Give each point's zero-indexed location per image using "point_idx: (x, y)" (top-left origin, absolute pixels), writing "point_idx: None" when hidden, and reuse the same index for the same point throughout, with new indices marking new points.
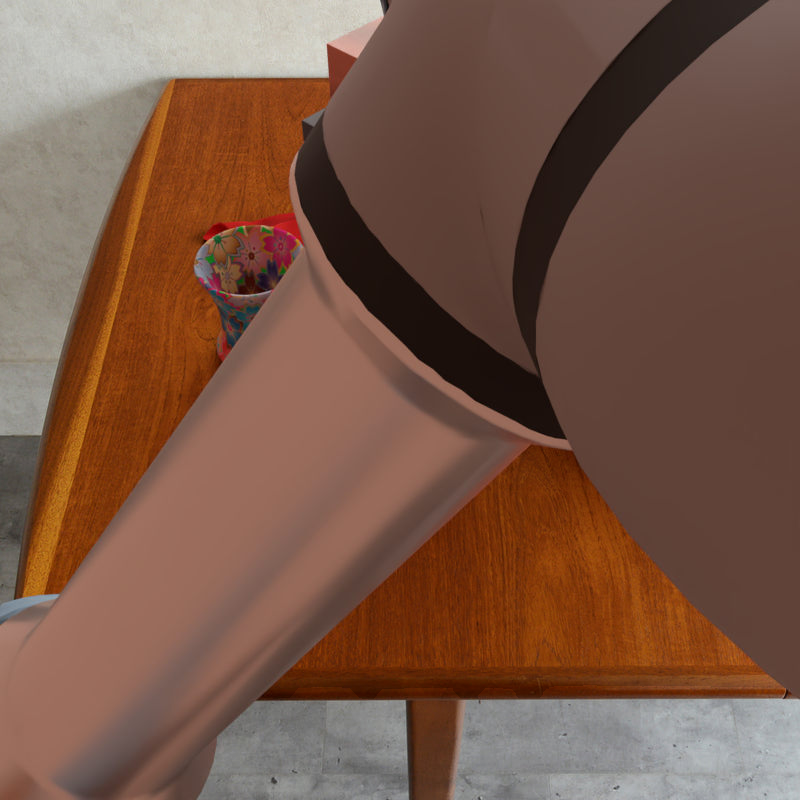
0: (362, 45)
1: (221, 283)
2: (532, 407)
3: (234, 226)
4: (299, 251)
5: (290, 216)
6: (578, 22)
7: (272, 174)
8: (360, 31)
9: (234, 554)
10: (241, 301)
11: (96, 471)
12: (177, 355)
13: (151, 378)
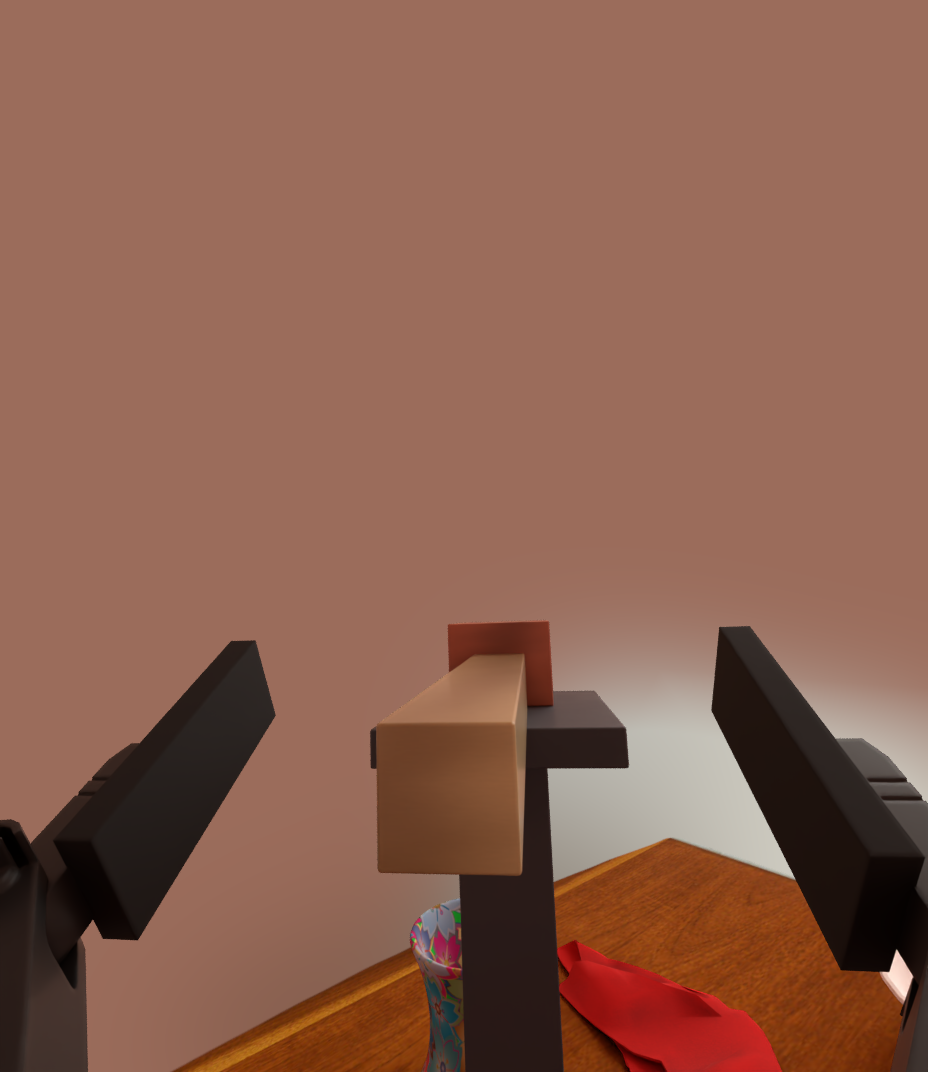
0: (479, 622)
1: (460, 956)
2: None
3: (586, 952)
4: None
5: (650, 976)
6: None
7: (679, 935)
8: (501, 621)
9: None
10: (419, 962)
11: None
12: (411, 1036)
13: (368, 1039)
